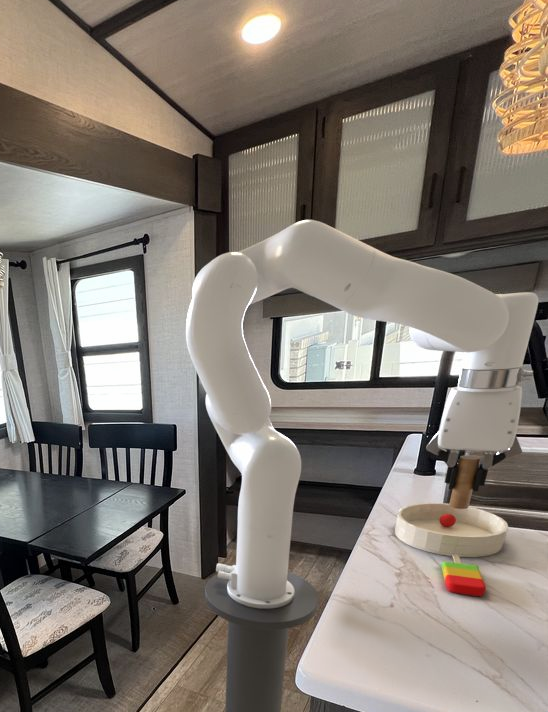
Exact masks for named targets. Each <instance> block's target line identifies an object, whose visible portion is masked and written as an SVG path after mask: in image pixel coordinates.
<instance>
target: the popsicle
mask: <svg viewBox="0 0 548 712" xmlns="http://www.w3.org/2000/svg"><path fill="white" fill-rule="evenodd" d="M451 557H452V559H453V562H451V561H450V562H449V561H443V562H442V563H441V572H442V574H443V579H444V580H443V581H444V583H445V587H446V590H447V591H449V592H450V593H454V594H459V595H460V594H461V595H466V596H474V597H482V596H484V595H485V592H486V589H487V587H486V583H485V581H484V578H483V576H482V573H481V570H480V568H479V566H478V565H473V564H468V563H467V564H466V563H462V561H461V557H459V555H458V554H453V555H452V556H451Z"/></svg>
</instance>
